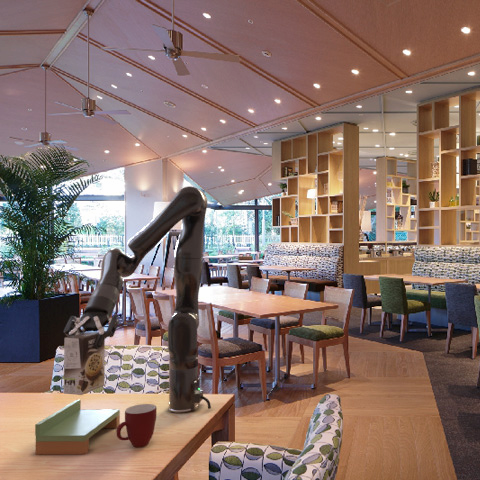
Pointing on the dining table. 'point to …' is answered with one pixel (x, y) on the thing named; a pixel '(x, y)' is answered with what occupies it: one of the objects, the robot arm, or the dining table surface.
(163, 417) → the dining table surface
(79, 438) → the shelf
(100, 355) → the coffee box
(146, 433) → the mug
